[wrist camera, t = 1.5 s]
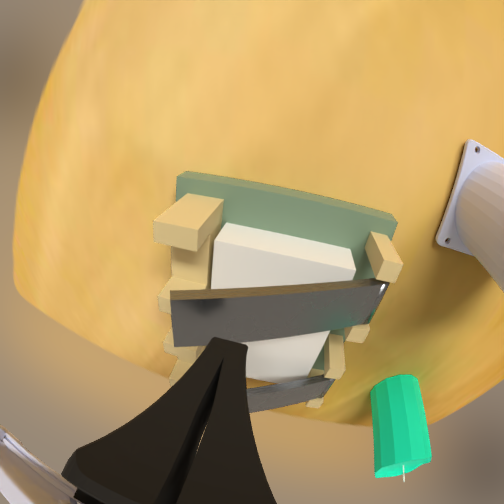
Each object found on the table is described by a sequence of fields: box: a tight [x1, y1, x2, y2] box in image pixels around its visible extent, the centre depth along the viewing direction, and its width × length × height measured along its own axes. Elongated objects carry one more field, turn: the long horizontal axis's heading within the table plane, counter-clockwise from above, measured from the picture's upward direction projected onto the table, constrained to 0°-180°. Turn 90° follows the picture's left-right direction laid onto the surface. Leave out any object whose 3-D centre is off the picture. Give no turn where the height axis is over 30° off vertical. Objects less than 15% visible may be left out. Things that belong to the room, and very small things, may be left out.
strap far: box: [247, 374, 335, 413], centre depth 17 cm, size 11×3×1 cm, turn 83°
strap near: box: [170, 278, 390, 347], centre depth 13 cm, size 11×3×1 cm, turn 83°
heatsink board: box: [153, 171, 403, 408], centre depth 19 cm, size 14×17×6 cm
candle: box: [370, 375, 432, 482], centre depth 20 cm, size 6×6×12 cm
